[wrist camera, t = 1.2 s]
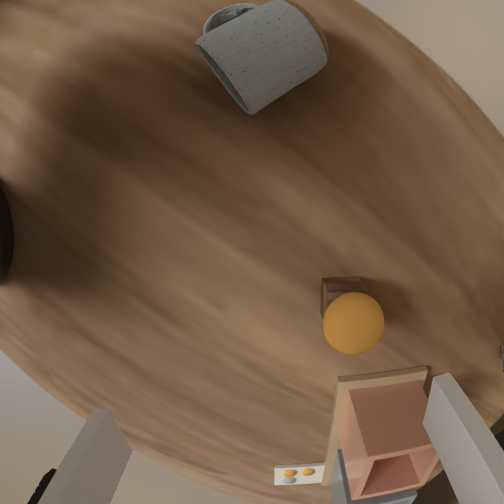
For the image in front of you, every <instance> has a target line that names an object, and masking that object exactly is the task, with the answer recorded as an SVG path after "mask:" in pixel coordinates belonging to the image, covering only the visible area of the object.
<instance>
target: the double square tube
mask: <svg viewBox="0 0 504 504" xmlns="http://www.w3.org/2000/svg"><path fill="white" fill-rule="evenodd" d="M427 373H428V370H427V368H426V367H425V366H421V367H415V368H408V369H402V370H395V371H388V372H380V373H372V374H363V375H354V376H343V377H337V383H336V391H335V398H334V405H333V412H332V419H331V425H330V432H329V438H328V443H327V449H326V455H325V460H324V470H323V475H322V480H321V486H325V485H330V488H331V495H332V502H333V504H412V502H413V501H414V499H415V498H416V496H417V492H416V489H415V487H418V486H421V485H424V484H425V482H426V480H427V479H428V477H429V476H430V474H431V472H432V470H433V469H434V467H435V465H436V464H437V462H438V460H439V457H438V454H437V452H436V450H435V448H434V446H433V444H432V442H431V440H430V438H429V436H428V434H427V432H426V430H425V428H424V426H423V420H424V416H425V412H426V408H427V404H428V398H427V396H426V394H425V392H424V391H423V386H424V383H425V380H426V376H427Z"/></svg>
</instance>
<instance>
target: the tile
mask: <svg viewBox="0 0 504 504" xmlns="http://www.w3.org/2000/svg"><path fill="white" fill-rule="evenodd" d="M323 470H324V462H322V463H310V464H293V465H275V485H291V484H308V483H321V480H322V475H323Z"/></svg>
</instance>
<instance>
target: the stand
mask: <svg viewBox="0 0 504 504" xmlns="http://www.w3.org/2000/svg"><path fill="white" fill-rule="evenodd" d="M350 292H359V293H363V294H366V295H368V296H369V290H368V289H367V287H366V286H365V284H364V283H363V282H362V280H361V279H360V278H359V277H339V278H322V289H321V315H322V319H323V318H324V314H325V312H326V310H327V308H328V306H329V305H330V304H331V302H332V301H333V300H335V299H336V298H337V297H339V296H341V295H343V294H346V293H350Z"/></svg>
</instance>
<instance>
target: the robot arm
mask: <svg viewBox="0 0 504 504" xmlns="http://www.w3.org/2000/svg"><path fill="white" fill-rule="evenodd" d="M12 251H13V232H12V223H11V218H10V213H9V209H8V206H7V203H6V200H5V198H4V195H3V193H2V191H1V189H0V280H1V279H2V278H3V277H4V276H5V274H6V273H7V271H8V268H9V266H10V263H11V258H12ZM423 426H424V428H425V430H426V432H427V434H428V436H429V438H430V440H431V442H432V444H433V446H434V448H435V450H436V452H437V454H438V457H439V459H440V461H441V463H442V465H443V467H444V470H445V472H446V474H447V476H448V478H449V481H450V482H451V485H452V488H453V490H454V492H455V495H456V497H457V499H458V501H459V504H504V431H502V432H500V433H498V434H496V435H494V436H493V434H492V433H491V431H490V429H489V428H488V426H487V425H486V423H485V422H484V420H483V419H482V417H481V416H480V415H479V413H478V412H477V410H476V409H475V407H474V406H473V404H472V403H471V402H470V400H469V399H468V397H467V396H466V394H465V393H464V392H463V390H462V389H461V387H460V386H459V385H458V383H457V382H456V381H455V379H454V378H453V376H452V375H451V374H450V372H448V373H445V374H442V375H438V376H435V377H433V380H432V385H431V390H430V395H429V399H428V404H427V408H426V412H425V416H424V420H423ZM131 452H132V449H131V447H130V445H129V444H128V442H127V440H126V439H125V437H124V435H123V434H122V432H121V430H120V429H119V427H118V425H117V423H116V421H115V420H114V418H113V416H112V414H111V412H110V410H109V409H98V408H95V409H94V410H93V412H92V414H91V415H90V417H89V418H88V420H87V422H86V423H85V425H84V427H83V428H82V430H81V431H80V433H79V434H78V436H77V438H76V439H75V441H74V443H73V444H72V446H71V448H70V449H69V451H68V452H67V454H66V456H65V457H64V459H63V461H62V462H61V464H60V466H59V468H58V469H57V470H56V469H51V470H50V471H49V472H48V473H47V474H45V475H44V477H43V478H42V480H41V482H40V483H39V486H38V487H37V488H36V490H35V493H33V495H32V497H31V499H30V500H29V502H28V504H110V502H111V500H112V497H113V495H114V493H115V490H116V488H117V486H118V483H119V481H120V478H121V476H122V474H123V471H124V469H125V467H126V464H127V462H128V460H129V457H130V455H131Z"/></svg>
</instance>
